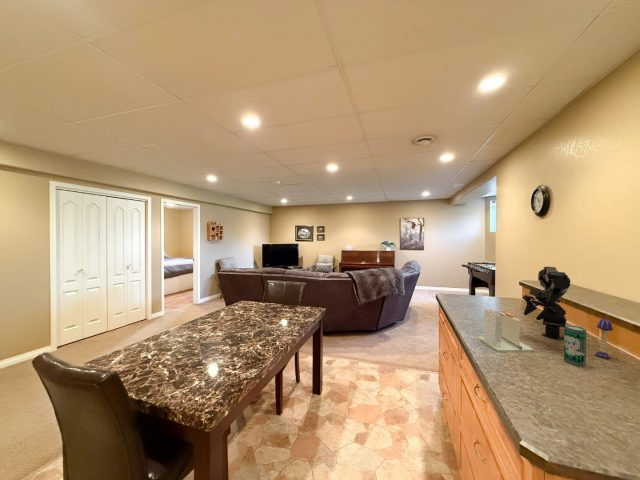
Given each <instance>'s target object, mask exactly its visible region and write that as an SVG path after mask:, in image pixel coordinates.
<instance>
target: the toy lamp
mask: <svg viewBox="0 0 640 480" xmlns="http://www.w3.org/2000/svg"><path fill="white" fill-rule="evenodd" d="M596 328H597V329H600V330H601V332H600V333H601V335H600V343H599V344H600V346H599V348H600V349H599V351H597V352H595V356H597V357H599V358H602V359H606V360H609V359H611V358H610V355H609V354H608V353H607V351H606V350H607V342H608V341H607V340H608V332H612V331H613V330H614V328H613V325H612V321H611V320H609V319H606V318H600V319H599V321H598V323H597V325H596Z"/></svg>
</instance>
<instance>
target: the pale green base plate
mask: <svg viewBox="0 0 640 480" xmlns="http://www.w3.org/2000/svg"><path fill="white" fill-rule="evenodd" d="M477 338H478V339H477ZM476 339H477V340H479V341H480V342H482V343H483V344H485V345H486V346H487V347H489V348H490V349H493V351H495V352H496V353H535V349H534V348H532V347H530V346H528V345H526V344H524V343H523V342H521V341H520V346H519V347H517V346H515V345H514V344H512V343H510V342H508V341H507V340H505V339H503V338H502V347H495V346H494V345H492V344H491V343H489V342H488V341H486V340H484V335H482V336H480V335H479V336H476Z"/></svg>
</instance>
